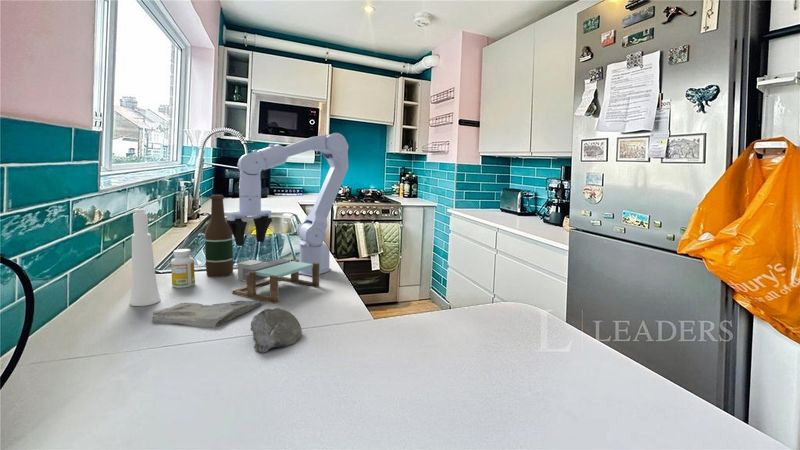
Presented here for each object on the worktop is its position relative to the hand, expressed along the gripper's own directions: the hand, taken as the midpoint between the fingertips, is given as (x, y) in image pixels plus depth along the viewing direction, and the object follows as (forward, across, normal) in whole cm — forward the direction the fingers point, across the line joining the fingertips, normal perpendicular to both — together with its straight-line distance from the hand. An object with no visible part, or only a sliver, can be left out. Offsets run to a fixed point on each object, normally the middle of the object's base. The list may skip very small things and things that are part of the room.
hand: (250, 243), depth 110 cm
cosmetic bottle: (+11, +27, -5) cm, 29 cm away
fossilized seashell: (+11, +27, +34) cm, 45 cm away
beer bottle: (+11, 0, -12) cm, 16 cm away
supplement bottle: (+11, +14, -10) cm, 20 cm away
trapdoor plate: (+7, +4, +14) cm, 16 cm away
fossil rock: (+12, +24, +13) cm, 30 cm away
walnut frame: (+10, +4, +14) cm, 18 cm away
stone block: (+11, 0, 0) cm, 11 cm away
